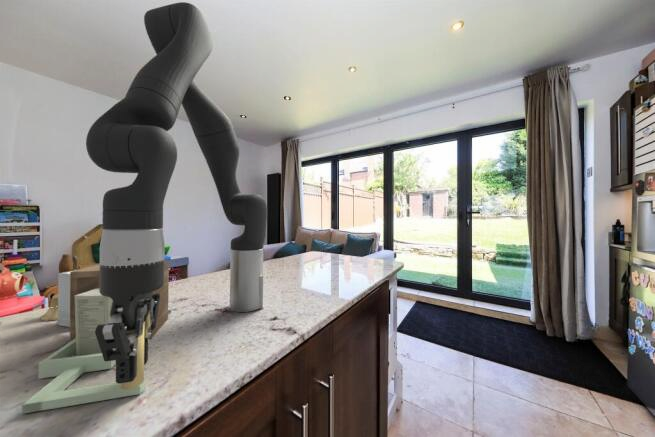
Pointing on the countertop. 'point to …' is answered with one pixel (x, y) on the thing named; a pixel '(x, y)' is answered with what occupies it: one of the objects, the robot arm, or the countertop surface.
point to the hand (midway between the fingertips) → (133, 371)
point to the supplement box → (64, 299)
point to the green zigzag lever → (71, 369)
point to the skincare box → (90, 320)
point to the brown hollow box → (90, 280)
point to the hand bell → (52, 313)
